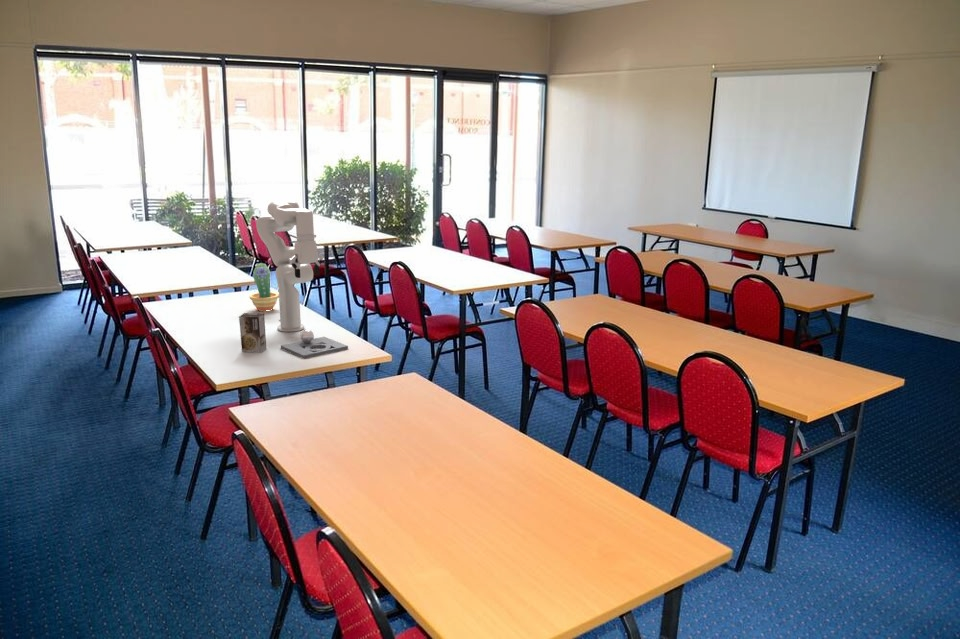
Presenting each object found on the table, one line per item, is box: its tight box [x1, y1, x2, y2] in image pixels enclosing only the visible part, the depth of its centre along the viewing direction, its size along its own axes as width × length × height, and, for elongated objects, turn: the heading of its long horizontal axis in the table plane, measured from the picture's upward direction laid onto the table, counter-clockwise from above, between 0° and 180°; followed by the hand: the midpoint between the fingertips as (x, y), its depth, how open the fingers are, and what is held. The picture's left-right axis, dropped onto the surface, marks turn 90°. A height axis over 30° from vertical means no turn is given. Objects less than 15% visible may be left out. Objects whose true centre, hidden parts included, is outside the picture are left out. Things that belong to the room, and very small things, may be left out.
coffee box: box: [238, 312, 267, 353], centre depth 319 cm, size 9×6×16 cm
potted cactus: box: [248, 263, 279, 311], centre depth 390 cm, size 15×15×25 cm
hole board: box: [280, 336, 349, 360], centre depth 324 cm, size 20×22×2 cm
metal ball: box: [299, 329, 315, 343], centre depth 327 cm, size 6×6×6 cm
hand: (307, 276), depth 330 cm, fingers open, 9 cm apart
